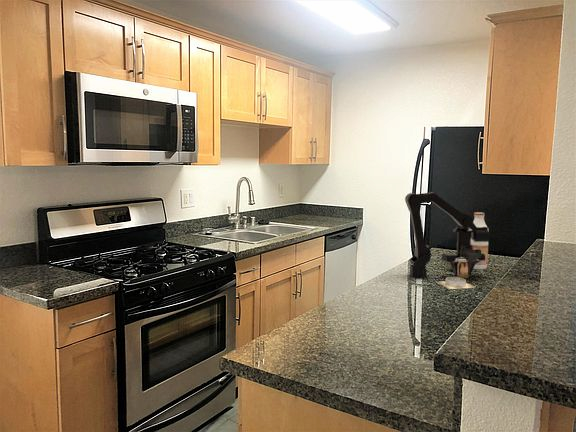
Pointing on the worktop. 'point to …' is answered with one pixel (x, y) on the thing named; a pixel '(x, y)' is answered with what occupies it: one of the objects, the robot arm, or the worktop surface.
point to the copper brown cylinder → (463, 269)
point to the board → (455, 287)
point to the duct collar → (455, 281)
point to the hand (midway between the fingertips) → (462, 275)
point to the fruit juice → (480, 245)
